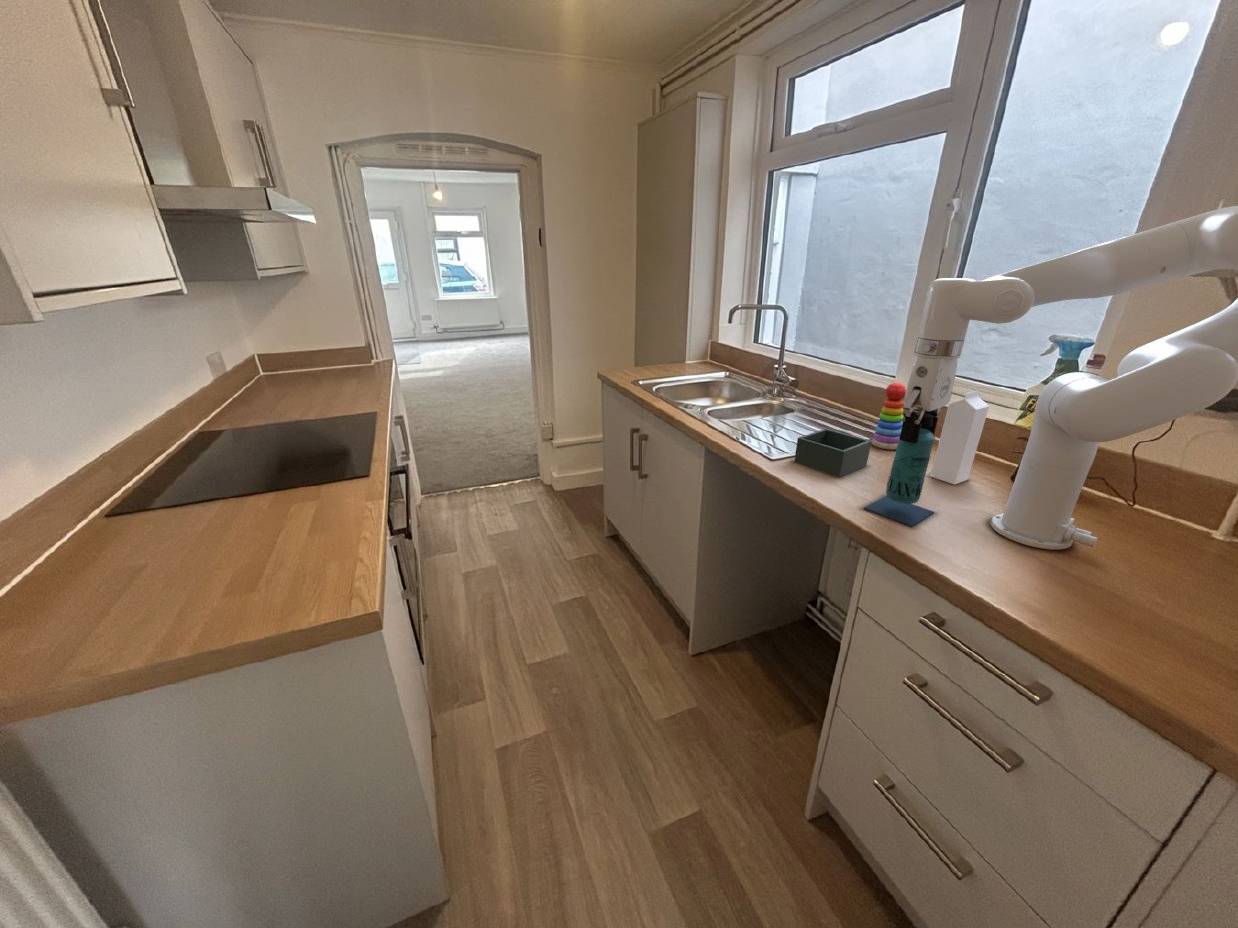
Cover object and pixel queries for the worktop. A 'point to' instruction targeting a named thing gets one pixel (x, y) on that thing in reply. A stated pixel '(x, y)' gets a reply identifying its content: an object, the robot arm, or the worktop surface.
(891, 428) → the stacking toy
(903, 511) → the mat
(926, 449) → the beverage bottle
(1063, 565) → the worktop surface
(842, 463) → the basket
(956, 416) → the milk
